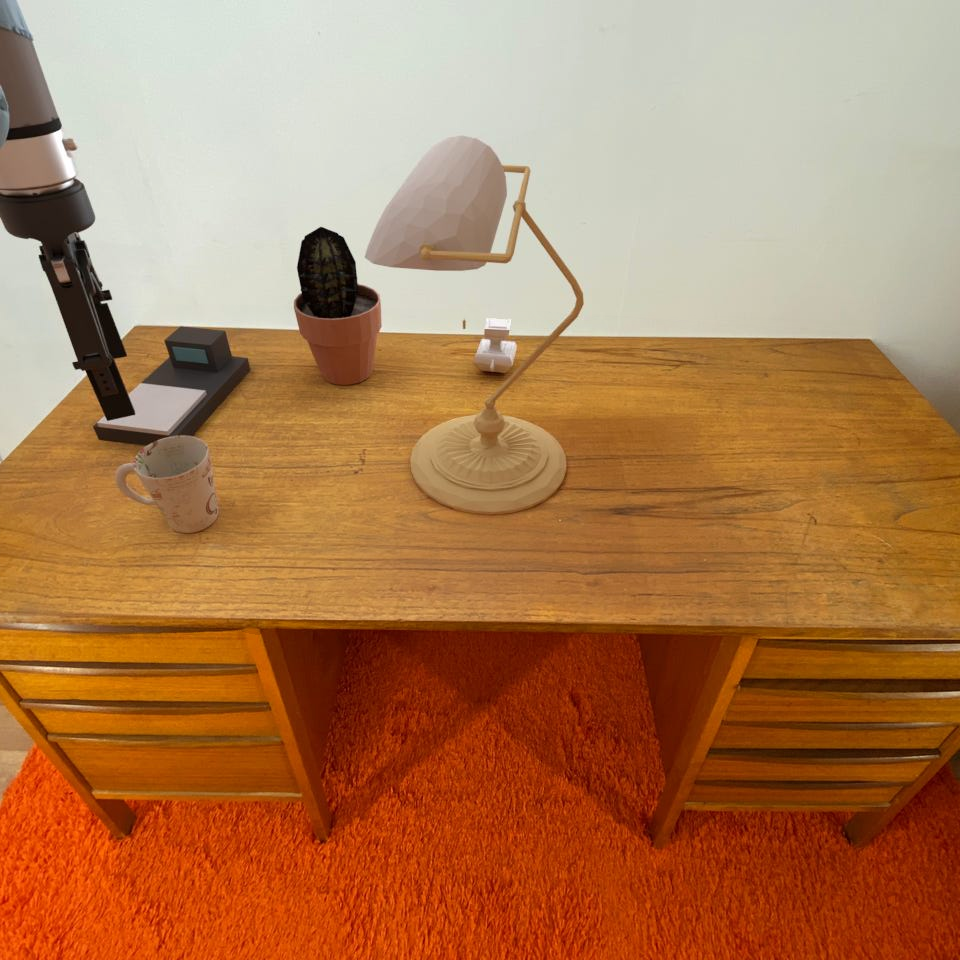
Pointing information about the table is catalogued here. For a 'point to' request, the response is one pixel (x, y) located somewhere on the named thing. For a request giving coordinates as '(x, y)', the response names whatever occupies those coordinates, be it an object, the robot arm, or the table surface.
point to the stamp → (496, 347)
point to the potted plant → (336, 309)
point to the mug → (175, 481)
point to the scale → (179, 389)
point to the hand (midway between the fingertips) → (117, 385)
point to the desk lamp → (458, 247)
